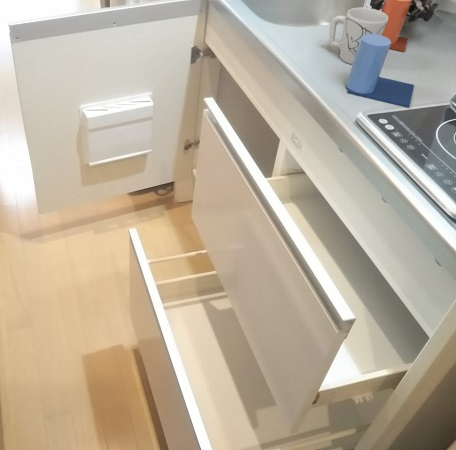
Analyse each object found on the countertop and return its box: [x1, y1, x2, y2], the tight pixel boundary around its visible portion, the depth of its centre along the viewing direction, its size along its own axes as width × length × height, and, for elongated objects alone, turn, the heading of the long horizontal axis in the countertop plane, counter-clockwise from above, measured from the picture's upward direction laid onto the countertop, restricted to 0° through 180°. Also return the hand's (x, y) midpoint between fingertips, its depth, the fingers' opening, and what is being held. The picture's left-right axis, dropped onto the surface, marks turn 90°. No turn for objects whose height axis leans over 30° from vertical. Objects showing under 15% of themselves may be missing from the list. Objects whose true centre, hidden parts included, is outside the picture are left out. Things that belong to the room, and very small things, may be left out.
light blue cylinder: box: [345, 34, 391, 94], centre depth 102 cm, size 6×6×10 cm
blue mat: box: [346, 76, 415, 109], centre depth 106 cm, size 12×10×1 cm
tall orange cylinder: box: [380, 0, 412, 44], centre depth 121 cm, size 6×6×10 cm
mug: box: [328, 6, 388, 65], centre depth 114 cm, size 11×8×10 cm
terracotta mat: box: [389, 36, 409, 53], centre depth 125 cm, size 10×8×1 cm
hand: (392, 13), depth 119 cm, fingers open, 8 cm apart
